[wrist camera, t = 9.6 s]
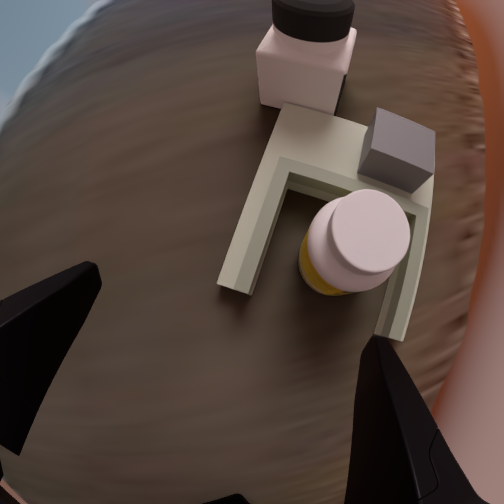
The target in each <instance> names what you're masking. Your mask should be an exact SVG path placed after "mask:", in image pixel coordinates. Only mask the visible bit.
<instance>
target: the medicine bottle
mask: <svg viewBox="0 0 504 504" xmlns="http://www.w3.org/2000/svg"><path fill="white" fill-rule="evenodd" d="M354 9H355V4H354V2H353V1H352V0H272V16H273V25H272V26H271V28H270V29H269V31H268V33H267V34H266V36H265V37H264V39H263V41H262V42H261V44H260V45H259V47H258V49H257V50H256V60H257V71H258V82H259V93H260V102H261V104H263V105H267V106H271V107H275V108H279V109H282V106H283V104H284V102H285V103H289V104H293V105H297V106H301V107H305V108H309V109H312V110H316V111H320V112H323V113H326V114H330V115H333V116H336V112H337V109H338V105H339V101H340V98H341V94H342V90H343V86H344V83H345V79H346V75H347V71H348V67H349V63H350V59H351V55H352V51H353V47H354V43H355V38H356V34H357V31H356V30H355V29H354V28H351V23H352V18H353V14H354Z"/></svg>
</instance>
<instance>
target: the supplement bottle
mask: <svg viewBox="0 0 504 504" xmlns="http://www.w3.org/2000/svg"><path fill="white" fill-rule="evenodd" d="M409 242H410V228H409V223H408V220H407V218H406V215H405V213H404V211H403V210H402V208H401V207H400V206H399V204H398V203H397V202H396V201H395V200H394V199H392V198H391V197H390V196H388V195H386V194H384V193H382V192H380V191H377V190H371V189H362V190H357V191H354V192H352V193H350V194H348V195H347V196H345V197H341V198H337V199H335V200H333V201H331V202H329V203H328V204H326V205H325V206H324V207H323V208H322V209H321V210H320V211H319V212H318V213H317V215H316V216H315V218H314V219H313V221H312V223H311V225H310V227H309V229H308V231H307V233H306V235H305V238H304V240H303V242H302V244H301V246H300V250H299V254H298V266H299V270H300V273H301V275H302V277H303V279H304V281H305V282H306V283H307V284H308V285H309V286H310V287H311V288H312V289H313V290H315V291H316V292H318V293H320V294H323V295H328V296H340V295H345V294H351V293H358V292H363V291H366V290H370V289H372V288H375V287H376V286H378V285H380V284H381V283H383V282H384V281H385V280H386V279H387V278H388V277H389V276H390V275H391V273H392V272H393V270H394V268H395V266H396V265H397V264H398V263H399V262H400V261H401V260H402V259H403V257H404V256H405V254H406V252H407V250H408V247H409Z"/></svg>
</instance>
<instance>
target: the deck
mask: <svg viewBox="0 0 504 504" xmlns="http://www.w3.org/2000/svg"><path fill="white" fill-rule="evenodd" d="M434 166H435V131H433V130H431V129H428V128H426V127H424V126H422V125H420V124H417V123H415V122H413V121H411V120H408V119H406V118H403V117H401V116H399V115H396V114H394V113H391V112H389V111H386V110H383V109H381V108H378V107H377V109H376V111H375V113H374V116H373V118H372V120H371V122H370V124H369V126H368V127H367V126H364V125H361V124H358V123H355V122H352V121H349V120H346V119H343V118H340V117H336V116H333V115H330V114H326V113H323V112H320V111H316V110H312V109H309V108H305V107H301V106H297V105H293V104H289V103H285V102H284V104H283V106H282V109H281V111H280V114H279V116H278V119H277V121H276V124H275V127H274V129H273V132H272V134H271V137H270V140H269V142H268V145H267V147H266V150H265V153H264V155H263V158H262V161H261V163H260V166H259V168H258V171H257V174H256V176H255V179H254V182H253V184H252V187H251V190H250V193H249V195H248V198H247V201H246V203H245V206H244V209H243V212H242V214H241V217H240V220H239V222H238V225H237V228H236V231H235V234H234V236H233V239H232V242H231V245H230V247H229V250H228V253H227V256H226V259H225V261H224V264H223V267H222V270H221V273H220V276H219V279H218V281H217V284H219V285H222V286H225V287H228V288H231V289H233V290H236V291H239V292H242V293H245V294H248V295H251V296H252V294H253V291H254V288H255V285H256V282H257V279H258V276H259V273H260V270H261V267H262V264H263V261H264V258H265V255H266V252H267V249H268V246H269V243H270V240H271V237H272V234H273V231H274V228H275V225H276V222H277V219H278V216H279V213H280V210H281V207H282V204H283V201H284V198H285V195H286V192H287V189H290V190H293V191H296V192H300V193H303V194H306V195H309V196H313V197H316V198H319V199H322V200H325V201H328V202H331V201H333V200H335V199H337V198H341V197H345V196H347V195H348V194H350V193H352V192H354V191H357V190H362V189H371V190H377V191H380V192H382V193H384V194H386V195H388V196H390V197H391V198H392V199H394V200H395V201H396V202H397V203H398V204H399V206H400V207H401V208H402V210H403V211H404V213H405V215H406V218H407V220H408V223H409V228H410V242H409V247H408V250H407V252H406V254H405V256H404V257H403V259H402V260H401V261H400V262H399V263H398V264H397V265H396V266H395V268H394V270H393V272H392V273H391V275H390V277H389V281H388V285H387V289H386V293H385V296H384V300H383V304H382V307H381V311H380V314H379V318H378V321H377V324H376V327H375V331H374V334H376V335H380V336H385V337H387V338H391V339H394V340H398V341H402V342H403V339H404V336H405V333H406V329H407V326H408V322H409V319H410V315H411V312H412V308H413V304H414V300H415V296H416V292H417V287H418V283H419V278H420V274H421V269H422V264H423V259H424V253H425V247H426V241H427V235H428V228H429V221H430V213H431V204H432V194H433V182H434Z"/></svg>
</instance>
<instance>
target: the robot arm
mask: <svg viewBox="0 0 504 504" xmlns="http://www.w3.org/2000/svg"><path fill="white" fill-rule="evenodd" d="M101 286H102V281H101V277H100V273H99V269H98V266H97V265H96V264H95V263H92V262H89V261H85V262H82V263H80V264H78V265H76V266H73V267H71V268H69V269H66V270H64V271H62V272H60V273H58V274H55V275H53V276H51V277H49V278H47V279H44V280H42V281H40V282H38V283H36V284H34V285H31V286H29V287H27V288H25V289H23V290H21V291H19V292H17V293H15V294H13V295H11V296H9V297H7V298H5V299H4V300H0V445H2V446H3V447H5V448H6V449H8V450H9V451H11V452H13V453H14V454H16V455H18V456H19V455H20V453H21V450H22V448H23V445H24V443H25V440H26V438H27V435H28V433H29V430H30V428H31V426H32V423H33V421H34V419H35V416H36V414H37V412H38V409H39V407H40V405H41V403H42V401H43V399H44V397H45V395H46V392H47V390H48V388H49V386H50V384H51V382H52V380H53V378H54V376H55V375H56V373H57V371H58V369H59V367H60V365H61V363H62V361H63V359H64V357H65V356H66V354H67V352H68V350H69V348H70V347H71V345H72V343H73V341H74V340H75V338H76V336H77V334H78V333H79V331H80V329H81V327H82V326H83V324H84V322H85V320H86V318H87V316H88V314H89V312H90V309H91V307H92V305H93V303H94V301H95V299H96V297H97V295H98V293H99V291H100V289H101ZM437 428H438V426H437V424H436V422H435V421H434V419H433V417H432V415H431V413H430V411H429V409H428V407H427V405H426V404H425V402H424V400H423V398H422V396H421V395H420V393H419V391H418V389H417V388H416V386H415V384H414V382H413V381H412V379H411V377H410V375H409V374H408V372H407V370H406V368H405V367H404V365H403V363H402V362H401V360H400V358H399V357H398V355H397V353H396V352H395V350H394V348H393V347H392V345H391V344H390V342H389V340H388V339H387V338H386V337H385V336H380V335H373V336H372V337H371V338H370V340H369V341H368V343H367V345H366V346H365V348H364V349H363V351H362V354H361V358H360V366H359V373H358V381H357V387H356V394H355V401H354V417H353V432H352V444H351V455H350V464H349V473H348V481H347V488H346V495H345V501H344V504H489V503H487V502H486V501H484V500H483V499H481V498H480V497H479V496H478V495H477V493H476V492H475V491H474V489H473V487H472V486H471V484H470V482H469V481H468V479H467V477H466V476H465V474H464V472H463V471H462V469H461V468H460V466H459V464H458V463H457V461H456V459H455V457H454V456H453V454H452V453H451V451H450V449H449V447H448V445H447V443H446V441H445V439H444V437H443V436H442V434H441V432H440V430H439V429H437ZM2 477H3V470H2V466H1V461H0V481H1V479H2ZM236 498H239V499H236ZM0 504H20V503H19V502H18V501H17V500H16V499H14V498H13V497H12V496H11V495H10V494H9V493H8V492H7V491H6V490H5V489H4V488H3V487H1V486H0ZM203 504H250V503H249V502H248V501H247V500H246V499H245V498H244V497H243V496H242V495H241V494H233V495H230V496H227V497H224V498H221V499H217V500H214V501H210V502H207V503H203Z"/></svg>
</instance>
